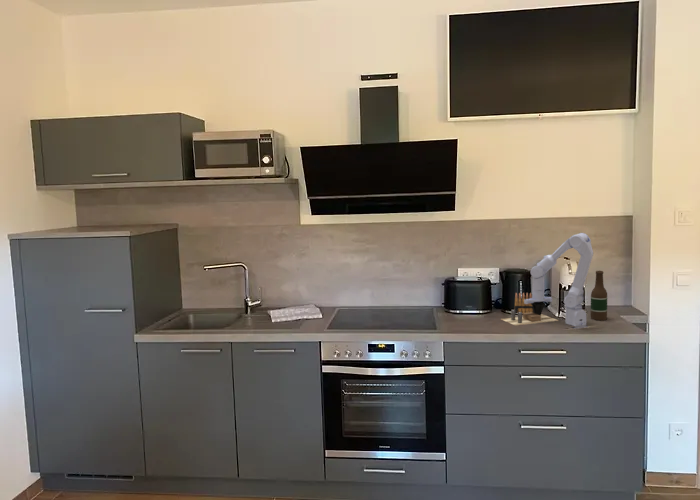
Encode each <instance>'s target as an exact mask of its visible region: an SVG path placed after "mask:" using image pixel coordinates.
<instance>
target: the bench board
mask: <svg viewBox="0 0 700 500" xmlns="http://www.w3.org/2000/svg"><path fill="white" fill-rule="evenodd" d="M500 320H501V321H504V322H506V323H509V324H510V325H513V326H521V325H522V326H525V325H532V324H540V323H549V322H559V320H558V319H556V318H553V317H550V316H548V315H546V314H542V313H541V321H535V322H531V321H529V320H526V319H524V318H523V316H522V323H518V316H515V320H511V317H508V318H507V317H506V318H500Z"/></svg>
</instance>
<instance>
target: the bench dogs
mask: <svg viewBox="0 0 700 500" xmlns="http://www.w3.org/2000/svg"><path fill="white" fill-rule="evenodd" d="M515 317H516V313H515V308H514V309H511V310H510V318H511V320H515ZM517 317H518V323H522V317H523V313H522V312H518V313H517Z"/></svg>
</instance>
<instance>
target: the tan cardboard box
mask: <svg viewBox="0 0 700 500" xmlns="http://www.w3.org/2000/svg"><path fill="white" fill-rule="evenodd" d="M522 317H523V318H524V319H526V320H529V321H531V322H535V321H541V316H540V315H538V314H535V313H532V312H530V313H522Z"/></svg>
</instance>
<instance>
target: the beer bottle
mask: <svg viewBox="0 0 700 500" xmlns="http://www.w3.org/2000/svg"><path fill="white" fill-rule="evenodd" d="M594 282H595V284H594V287H593V289H592V290H591V293H590V319H591V320H593V321H601V322H602V321H606V320H607V318H608V292H607V289H606V288H605V286H604V271H603V270H596V271H595V281H594Z"/></svg>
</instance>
